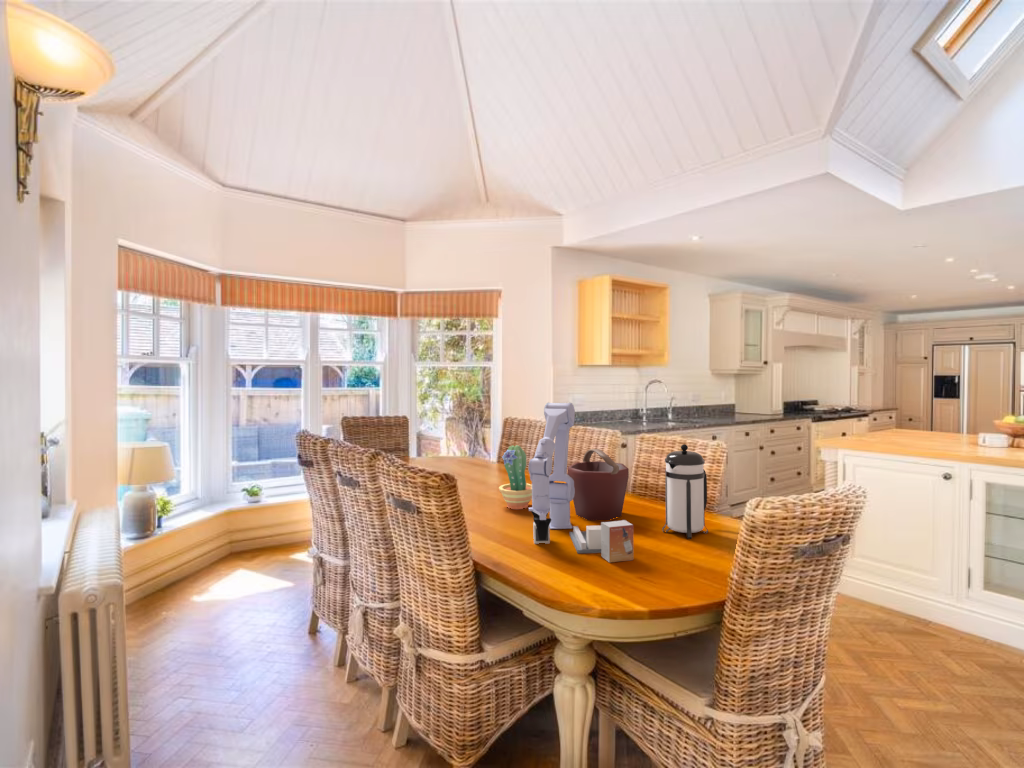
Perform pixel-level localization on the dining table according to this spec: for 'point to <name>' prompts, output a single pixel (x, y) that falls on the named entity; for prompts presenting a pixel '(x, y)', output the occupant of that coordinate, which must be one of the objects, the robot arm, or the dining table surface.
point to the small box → (617, 541)
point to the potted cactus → (516, 479)
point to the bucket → (599, 487)
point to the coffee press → (685, 492)
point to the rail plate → (587, 539)
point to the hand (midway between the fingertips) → (541, 535)
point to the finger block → (536, 538)
